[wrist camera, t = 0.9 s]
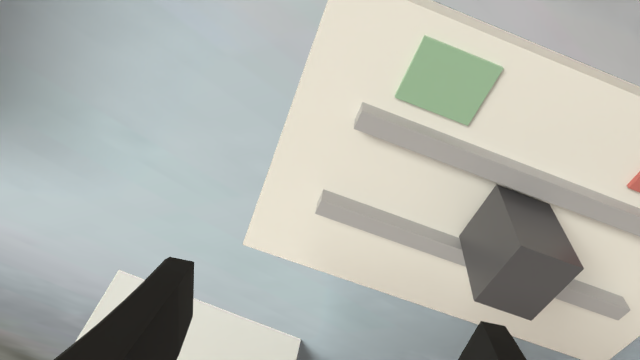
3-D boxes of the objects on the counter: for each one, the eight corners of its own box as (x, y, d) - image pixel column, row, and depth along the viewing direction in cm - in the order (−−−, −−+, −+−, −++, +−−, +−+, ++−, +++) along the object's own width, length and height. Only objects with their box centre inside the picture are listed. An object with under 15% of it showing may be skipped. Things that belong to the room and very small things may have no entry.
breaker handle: (549, 204, 18) (583, 268, 15) (507, 253, 20) (531, 320, 17) (496, 183, 18) (521, 245, 15) (458, 235, 20) (473, 301, 17)
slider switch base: (797, 152, 18) (858, 191, 16) (586, 334, 25) (607, 379, 23) (342, -37, 16) (336, -25, 14) (252, 219, 23) (238, 255, 21)
